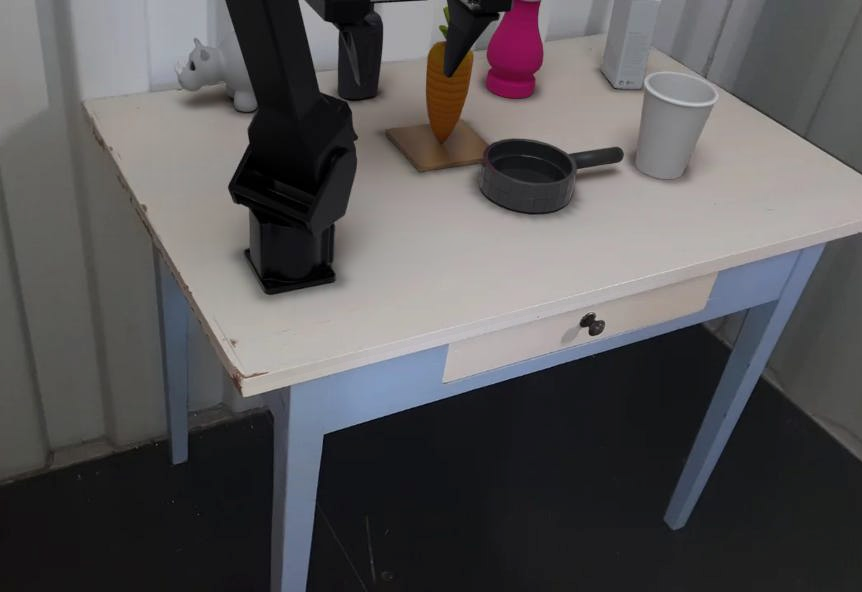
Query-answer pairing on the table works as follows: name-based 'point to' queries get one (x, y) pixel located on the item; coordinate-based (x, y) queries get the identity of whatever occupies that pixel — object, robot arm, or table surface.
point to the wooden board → (438, 146)
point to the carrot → (445, 88)
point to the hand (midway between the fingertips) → (404, 80)
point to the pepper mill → (515, 51)
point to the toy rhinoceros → (219, 71)
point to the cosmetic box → (629, 42)
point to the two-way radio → (345, 71)
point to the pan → (527, 175)
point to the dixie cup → (672, 122)
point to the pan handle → (597, 157)
